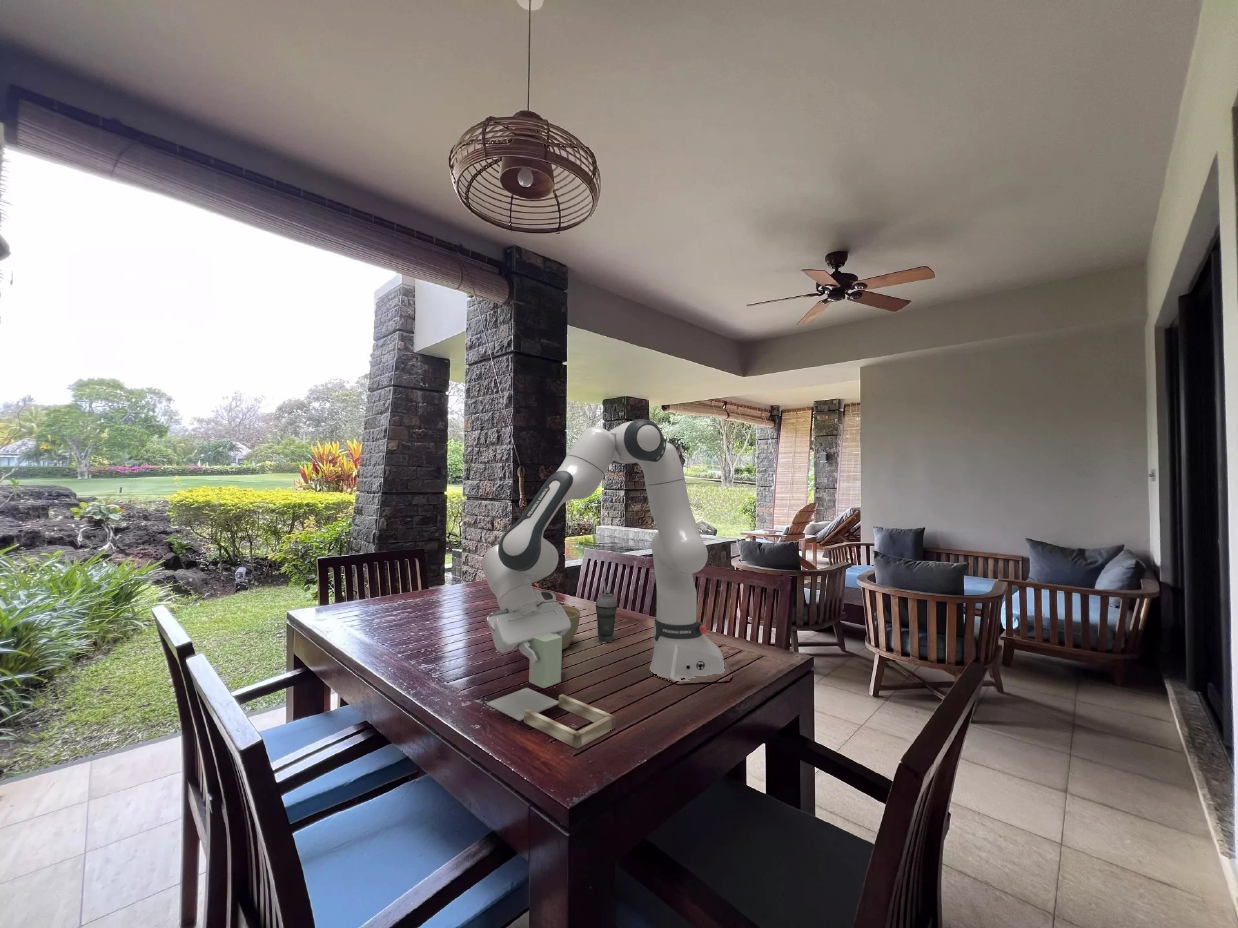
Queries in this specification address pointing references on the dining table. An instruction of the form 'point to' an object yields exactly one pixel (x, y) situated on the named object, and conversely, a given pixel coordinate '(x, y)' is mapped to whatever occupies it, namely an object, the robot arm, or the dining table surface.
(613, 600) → the beverage cup
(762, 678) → the dining table surface
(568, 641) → the planter bowl
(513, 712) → the mat
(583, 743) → the lane
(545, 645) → the block
